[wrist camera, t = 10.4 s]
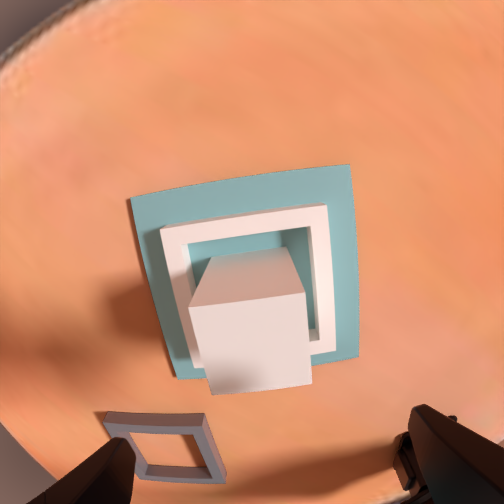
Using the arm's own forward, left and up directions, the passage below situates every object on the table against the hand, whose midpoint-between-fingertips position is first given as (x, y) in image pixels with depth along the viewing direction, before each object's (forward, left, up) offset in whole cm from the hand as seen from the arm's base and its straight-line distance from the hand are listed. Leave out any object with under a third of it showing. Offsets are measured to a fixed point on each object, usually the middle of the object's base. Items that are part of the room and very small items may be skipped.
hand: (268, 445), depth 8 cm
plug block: (0, -1, -11) cm, 11 cm away
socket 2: (0, -1, -12) cm, 12 cm away
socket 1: (+10, +14, -12) cm, 21 cm away
